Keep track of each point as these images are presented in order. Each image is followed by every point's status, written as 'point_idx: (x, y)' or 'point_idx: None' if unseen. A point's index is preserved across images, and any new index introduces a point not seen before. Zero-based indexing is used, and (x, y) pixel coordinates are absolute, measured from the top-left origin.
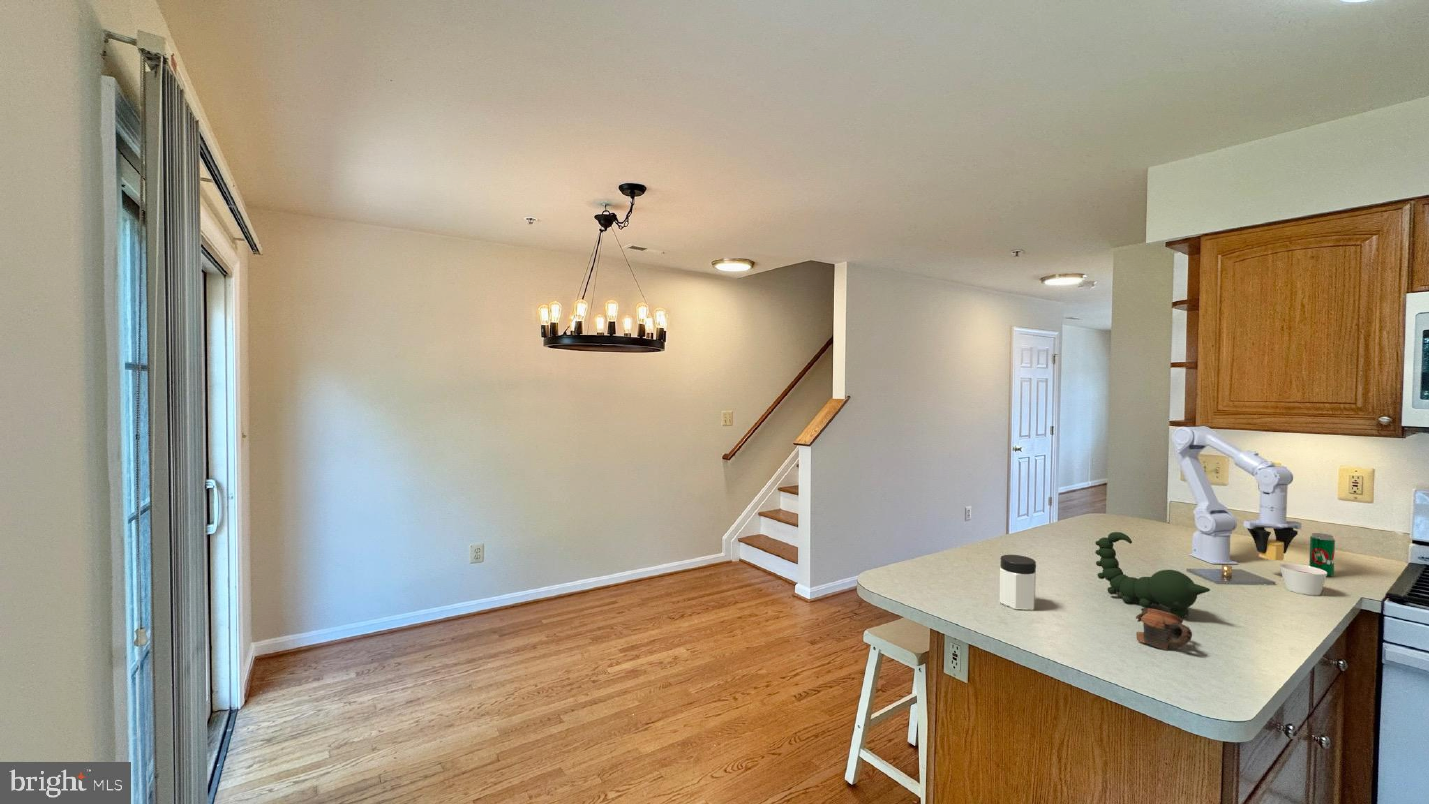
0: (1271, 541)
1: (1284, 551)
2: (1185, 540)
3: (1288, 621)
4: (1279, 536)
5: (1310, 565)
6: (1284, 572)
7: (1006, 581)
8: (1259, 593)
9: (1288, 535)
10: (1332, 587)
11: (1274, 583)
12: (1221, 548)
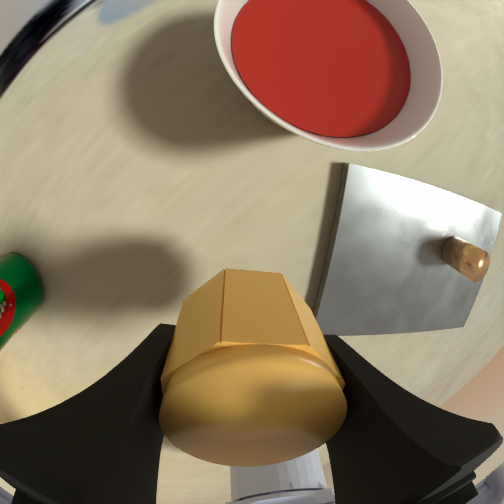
0: (280, 421)
1: (170, 331)
2: (187, 489)
3: (501, 9)
4: (150, 468)
5: (29, 310)
6: (420, 90)
7: None
8: (468, 111)
9: (113, 458)
10: (100, 121)
11: (349, 164)
12: None
